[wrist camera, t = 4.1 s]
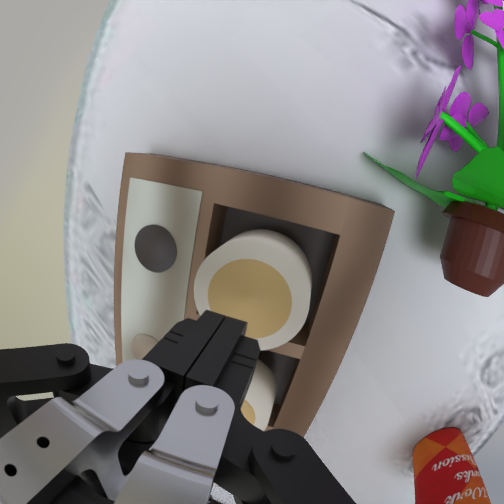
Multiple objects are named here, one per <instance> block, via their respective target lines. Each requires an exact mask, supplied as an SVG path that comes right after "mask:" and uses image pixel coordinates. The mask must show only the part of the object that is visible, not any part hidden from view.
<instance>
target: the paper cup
mask: <svg viewBox="0 0 504 504" xmlns="http://www.w3.org/2000/svg"><path fill="white" fill-rule="evenodd" d="M413 469H414V485H415V504H491V503H490V499H489V497H488V494H487V491H486V489H485V485H484V483H483V481H482V477H481V475H480V472H479V470H478V467H477V465H476V462H475V460H474V458H473V455H472V453H471V451H470V448H469V446H468V444H467V442H466V440H465V438H464V436H463V434H462V432H461V431H460V430H459V429H458V428H453V427H449V428H444V429H440V430H437V431H435V432H433V433H431V434H429V435H427V436H426V437H424V438H423V439H422V440H421V441H419V442H418V443H417V445H416V446H415V448H414V450H413Z"/></svg>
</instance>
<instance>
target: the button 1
mask: <svg viewBox="0 0 504 504" xmlns="http://www.w3.org/2000/svg"><path fill="white" fill-rule="evenodd" d="M311 289H312V271H311V267H310V264H309V261H308V259H307V257H306V255H305V254H304V252H303V251H302V249H301V248H300V247H299V246H298V245H297V244H296V243H295V242H294V241H293V240H291V239H290V238H288V237H287V236H285V235H283V234H281V233H278V232H275V231H272V230H266V229H255V230H249V231H245V232H242V233H240V234H238V235H236V236H234V237H233V238H232V239H230V240H229V241H227V242H226V243H225V244H223V245H222V246H220V247H219V248H218V249H216V250H215V251H213V252H212V253H211V254H210V255H209V256H208V257H207V258H206V259H205V260H204V261H203V263H202V264H201V266H200V267H199V269H198V271H197V274H196V277H195V282H194V299H195V304H196V307H197V310H198V313H199V315H200V316H201V315H202V314H203V312H204V311H205V310H210V311H213V312H216V313H219V314H222V315H226V316H229V317H232V318H236V319H239V320H242V321H245V322H248V324H247V330H246V334H245V336H246V337H250V338H253V339H256V340H258V343H259V347H260V350H268V349H273V348H276V347H279V346H281V345H283V344H285V343H287V342H288V341H289V340H291V339H292V338H293V337H294V336H295V335H296V334H297V333H298V332H299V331H300V330H301V328H302V326H303V325H304V323H305V321H306V318H307V315H308V311H309V305H310V297H311Z"/></svg>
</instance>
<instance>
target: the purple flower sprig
mask: <svg viewBox="0 0 504 504" xmlns="http://www.w3.org/2000/svg"><path fill="white" fill-rule="evenodd" d="M481 1H482V2H483V3H484V4H487V3H491V4H493V5H494V11H493V13H491V12H483V13H482V14H480V10H479V1H477V0H469V1H468V3H467V7H466V12H465V9H464V7H463V6H462V5H459V6H458V7H457V9H456V13H455V35H456V37H457V39H458V40H461V39H462V37H463V36H464V35H465V33H471V34H470V35H468V36H466V37H465V39H464V42H463V46H462V57H463V61H464V63H465V65H466V66H467V68H468V69H470V70H471V69H472V65H473V46H474V41H473V35H475V36H477V37H479V38H481V39H483V40H485V41H487V42H489V43H491V44H492V45H494V46H495V47H497V57H498V81H499V127H498V138H497V146H496V147H493V148H489V147H488V146H487V144H486V143H485V142H484V141H483V140H482V139H481V138H480V136H479V135H478V134H477V133H476V132H475V131H474V129H473V127H475V126H476V125H477V124H479V123H480V122H482V121H483V120H484V119H485V118H486V117H487V116H488V114H489V112H488V109H487V107H485V106H484V105H483V104H482V103H477V104H475V105H474V106H473V107H472V108H471V110H470V111H469V115H468V121H467V116H466V114H467V112H468V110H469V107H470V105H471V97H470V95H469V94H468V93H466V92H463V93H460V94H459V95H458V97H457V98H456V99H455V101H454V102H453V104H452V106H451V108H450V116H449V115H448V114H447V113H445V110H446V106H447V104H448V101H449V99H450V96H451V94H452V91H453V89H454V86H455V83H456V80H457V78H458V75H459V72H460V69H461V66H462V65H460V66H459V67H458V68H457V69H456V71H455V73H454V75H453V78H452V81H451V83H450V84H449V86H448V88H447V91H446V93H445V89H446V86H445V88H444V91H443V93H442V96H441V98H440V99H439V102H438V104H437V106H436V110H435V114H434V118H433V120H432V121H431V122H430V124H429V126H428V128H427V130H426V132H425V134H424V136H423V138H422V140H421V142H420V143H422V142H423V141H425V140H426V138H427V137H428V135H429V133H430V132H431V130H432V128H433V127H434V128H433V130H432V132H431V134H430V136H429V139H428V141H427V143H426V145H425V147H424V149H423V152H422V154H421V156H420V160H419V163H418V168H417V173H416V178H417V176H418V174H419V172H420V170H421V168H422V166H423V164H424V162H425V160H426V158H427V156H428V153H429V151H430V149H431V147H432V145H433V143H434V140H435V138H436V136H437V134H438V131H439V129H440V127H441V125H442V123H443V122H444V123H445V126H444V127H443V129H442V132H441V134H440V137H439V138H440V140H441V141H448V140H449V144H450V147H451V149H452V150H453V151H455V152H457V151H458V150H459V149H460V147H461V145H462V143H463V141H464V140H465V141H466V142H467V143H468V144H469V145H470V146H471V147H472V148H473V149H474V150H475V151H476V152H477V153H478V154H477V155H476V156H475V157H474V158H473V159H472V161H471V162H469V163H468V164H467V165H466V166H465V167H464V168H463V169H461V170H459V171H458V172H456V173H455V174H454V175H453V178H452V186H453V188H454V190H455V191H457V192H458V193H460V194H462V195H464V196H467V197H470V198H473V199H476V200H479V201H483V202H486V204H485V207H484V206H482V205H479V204H477V203H476V202H474V201H472V200H470V199H468V198H466V197H463V196H460V195H457V194H454V193H451V192H448V191H433V190H431V189H428V188H426V187H423V186H422V185H420V184H418V183H416V182H415V181H413V180H412V179H410V178H409V177H407V176H406V175H404V174H403V173H401V172H399V171H397V170H395V169H393V168H390V167H387V166H384V165H383V164H381V163H380V162H378V161H377V160H375V159H374V158H372V157H371V156H369V155H368V154H366V153H365V152H364V153H365V154H366V155H367V156H369V157H370V158H371V159H372V160H374V161H375V162H376V163H378V164H379V165H380V166H381V167H383V168H384V169H385V170H387V171H388V172H389V173H390V174H392V175H393V176H394V177H395V178H397V179H398V180H399V181H401V182H402V183H404V184H405V185H407V186H408V187H410V188H412V189H414V190H416V191H418V192H420V193H421V194H423V195H425V196H427V197H428V198H430V199H431V200H432V201H434V202H435V203H437V204H439V205H441V206H443V207H446V208H445V210H444V211H443V212H442V215H444V216H446V217H448V218H450V223H449V227H448V230H447V234H446V238H445V241H444V245H443V248H442V251H441V255H440V259H441V264H442V268H443V274H444V278H445V279H446V280H447V281H449V282H451V283H452V284H454V285H456V286H458V287H461V288H463V289H465V290H467V291H470V292H472V293H475V294H478V295H481V296H485V297H489V296H490V295H491V294H492V293H494V292H495V291H496V290H497V289H498V288H499V287H501V286H502V285H503V284H504V214H502V213H500V212H498V211H497V209H498V207H499V208H501V209H504V11H502V10H503V7H502V6H503V2H502V0H481ZM503 1H504V0H503ZM478 13H479V14H480V16H479V19H480V20H481V21H482V22H483V23H484V24H486V25H487V26H489V27H491V28H492V29H494V30H495V32H496V35H497V43H496V42H495V41H493V40H491V39H490V38H488V37H486V36H484V35H481V34H479V33H477V32H476V31H474V30H473V29H474V28H475V25H476V20H477V15H478ZM467 21H468V22H467ZM468 23H469V24H470V26H471V27H470V26H469V24H468ZM472 34H473V35H472ZM439 106H440V109H439ZM439 118H440V119H439ZM436 123H437V124H436ZM435 124H436V125H435ZM468 131H469V132H468Z"/></svg>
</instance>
